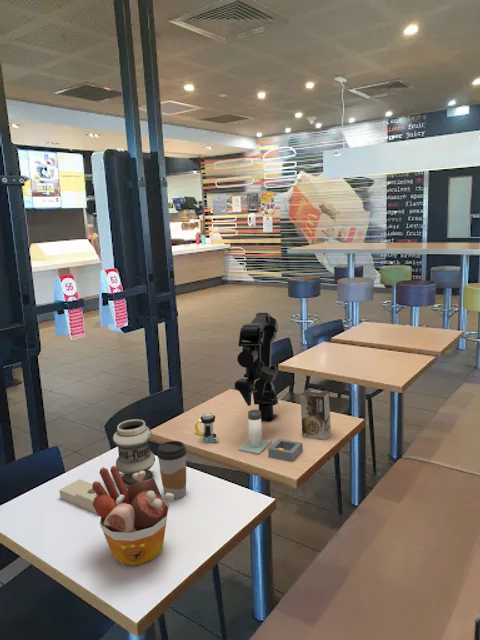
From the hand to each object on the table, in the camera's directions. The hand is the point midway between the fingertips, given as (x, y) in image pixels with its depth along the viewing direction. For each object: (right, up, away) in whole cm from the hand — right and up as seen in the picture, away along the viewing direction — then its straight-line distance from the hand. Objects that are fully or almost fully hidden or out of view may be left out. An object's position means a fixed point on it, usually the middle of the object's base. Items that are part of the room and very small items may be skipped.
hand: (255, 401), depth 182 cm
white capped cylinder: (0, -14, -7) cm, 16 cm away
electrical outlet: (-49, -24, -36) cm, 65 cm away
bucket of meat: (-30, -27, -60) cm, 72 cm away
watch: (-19, -13, +6) cm, 24 cm away
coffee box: (+22, -12, 0) cm, 25 cm away
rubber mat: (0, -15, -7) cm, 16 cm away
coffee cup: (-24, -22, -35) cm, 48 cm away
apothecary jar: (-38, -20, -24) cm, 49 cm away
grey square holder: (+10, -15, -14) cm, 23 cm away
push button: (-16, -14, 0) cm, 22 cm away
